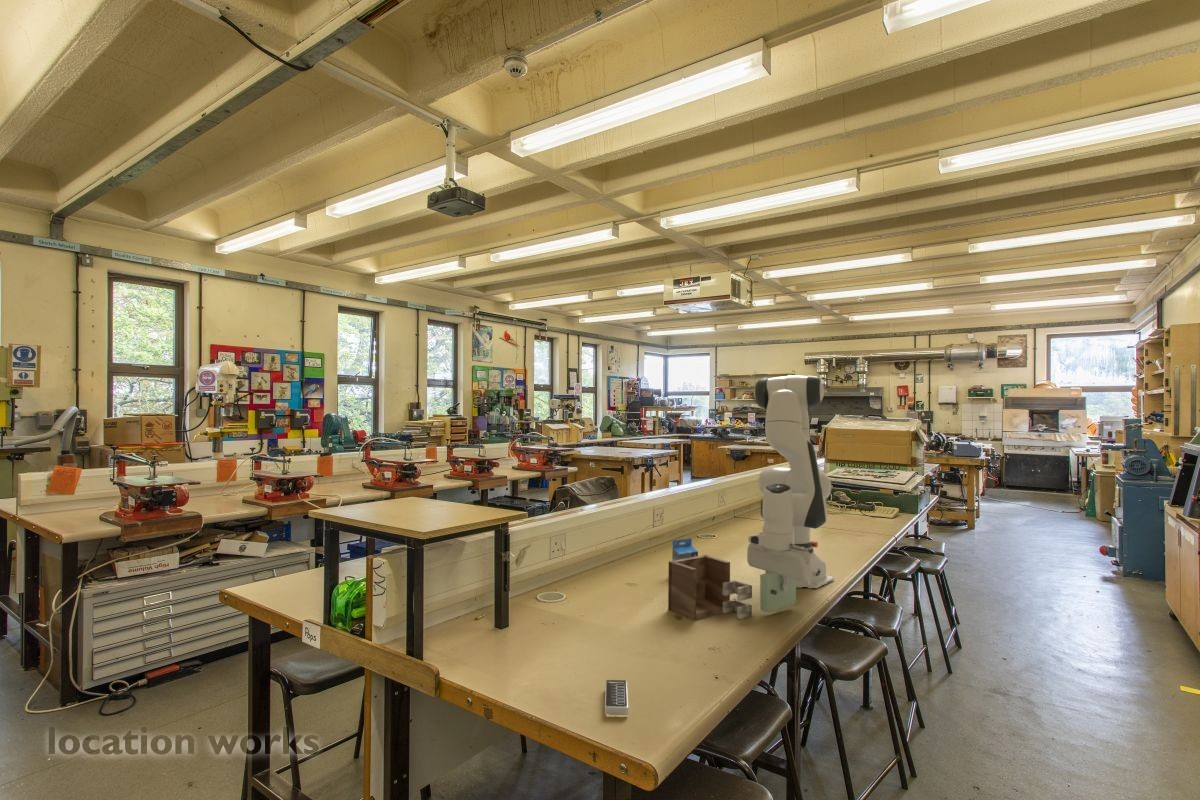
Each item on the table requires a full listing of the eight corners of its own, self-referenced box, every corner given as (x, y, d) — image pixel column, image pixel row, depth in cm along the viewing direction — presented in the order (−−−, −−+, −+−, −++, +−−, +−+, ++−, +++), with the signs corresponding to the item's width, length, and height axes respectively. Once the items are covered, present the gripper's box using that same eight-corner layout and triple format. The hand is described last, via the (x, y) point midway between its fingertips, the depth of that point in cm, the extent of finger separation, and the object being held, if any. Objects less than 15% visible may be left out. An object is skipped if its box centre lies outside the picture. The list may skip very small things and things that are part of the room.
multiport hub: (604, 719, 107) (604, 706, 107) (605, 690, 118) (605, 679, 118) (628, 719, 107) (628, 707, 107) (626, 691, 118) (626, 679, 118)
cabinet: (709, 599, 175) (710, 554, 176) (751, 615, 162) (752, 566, 162) (668, 609, 166) (668, 561, 166) (709, 627, 152) (709, 575, 152)
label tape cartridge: (678, 578, 198) (678, 542, 198) (671, 575, 201) (671, 540, 202) (698, 574, 202) (698, 540, 203) (691, 572, 206) (691, 538, 206)
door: (788, 600, 169) (788, 567, 170) (799, 604, 166) (799, 570, 167) (760, 609, 162) (760, 574, 162) (771, 613, 159) (770, 578, 159)
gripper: (816, 546, 158) (816, 596, 158) (757, 533, 175) (757, 578, 175) (802, 550, 155) (802, 601, 154) (743, 535, 171) (744, 581, 171)
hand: (778, 588), depth 165 cm, fingers closed on door, 2 cm apart
